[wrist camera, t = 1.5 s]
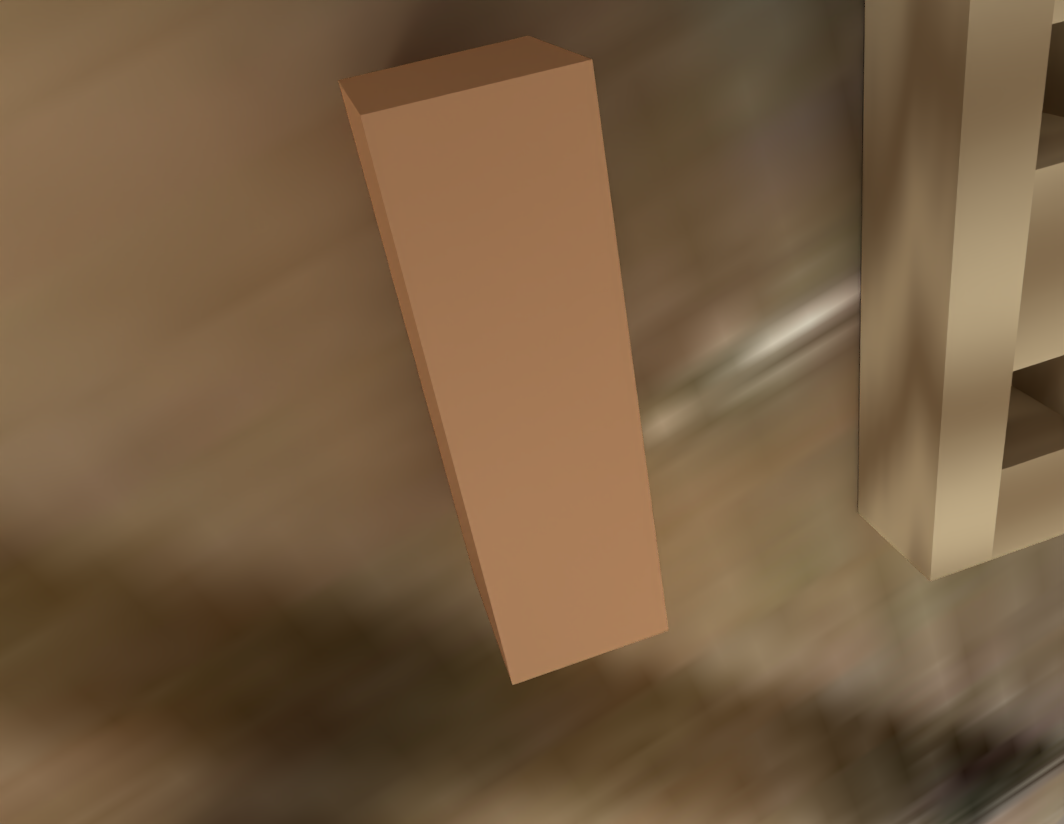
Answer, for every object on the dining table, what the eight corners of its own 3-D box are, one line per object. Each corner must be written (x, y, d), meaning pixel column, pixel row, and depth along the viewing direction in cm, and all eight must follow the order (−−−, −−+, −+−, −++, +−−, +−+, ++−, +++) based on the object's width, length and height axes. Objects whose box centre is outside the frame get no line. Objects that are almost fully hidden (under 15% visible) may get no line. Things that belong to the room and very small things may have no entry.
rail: (1049, 448, 25) (1139, 506, 23) (858, 513, 24) (930, 581, 22) (1217, -718, 14) (1434, -862, 11) (874, -679, 13) (1027, -825, 11)
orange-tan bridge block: (574, 475, 21) (668, 630, 16) (451, 514, 21) (512, 684, 16) (490, 21, 16) (592, 58, 11) (324, 59, 16) (360, 115, 11)
